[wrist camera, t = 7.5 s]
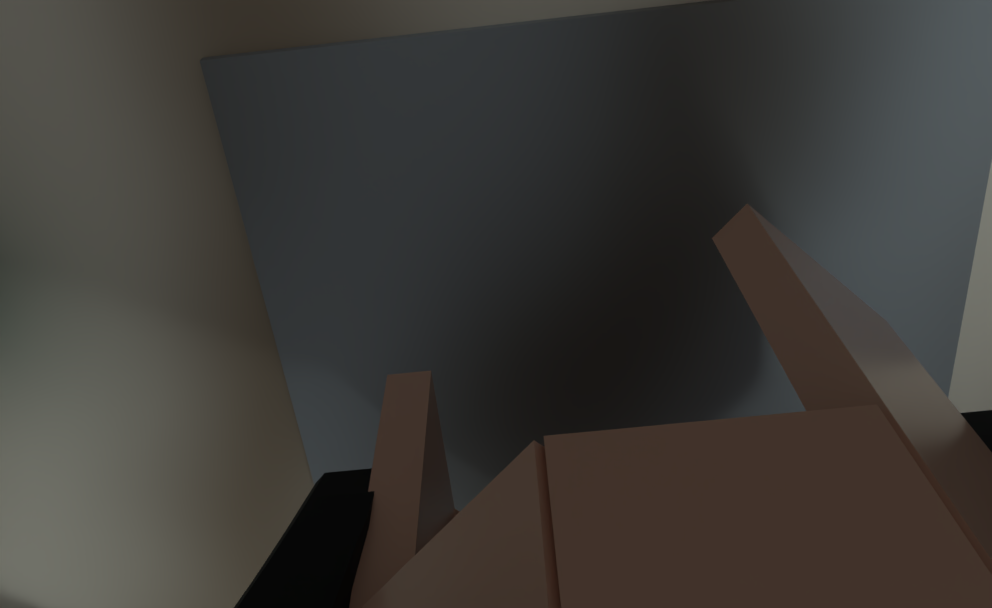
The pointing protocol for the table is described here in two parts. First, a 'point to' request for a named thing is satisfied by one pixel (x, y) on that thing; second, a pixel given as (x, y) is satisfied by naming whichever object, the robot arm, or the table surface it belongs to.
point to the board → (435, 243)
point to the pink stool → (708, 484)
